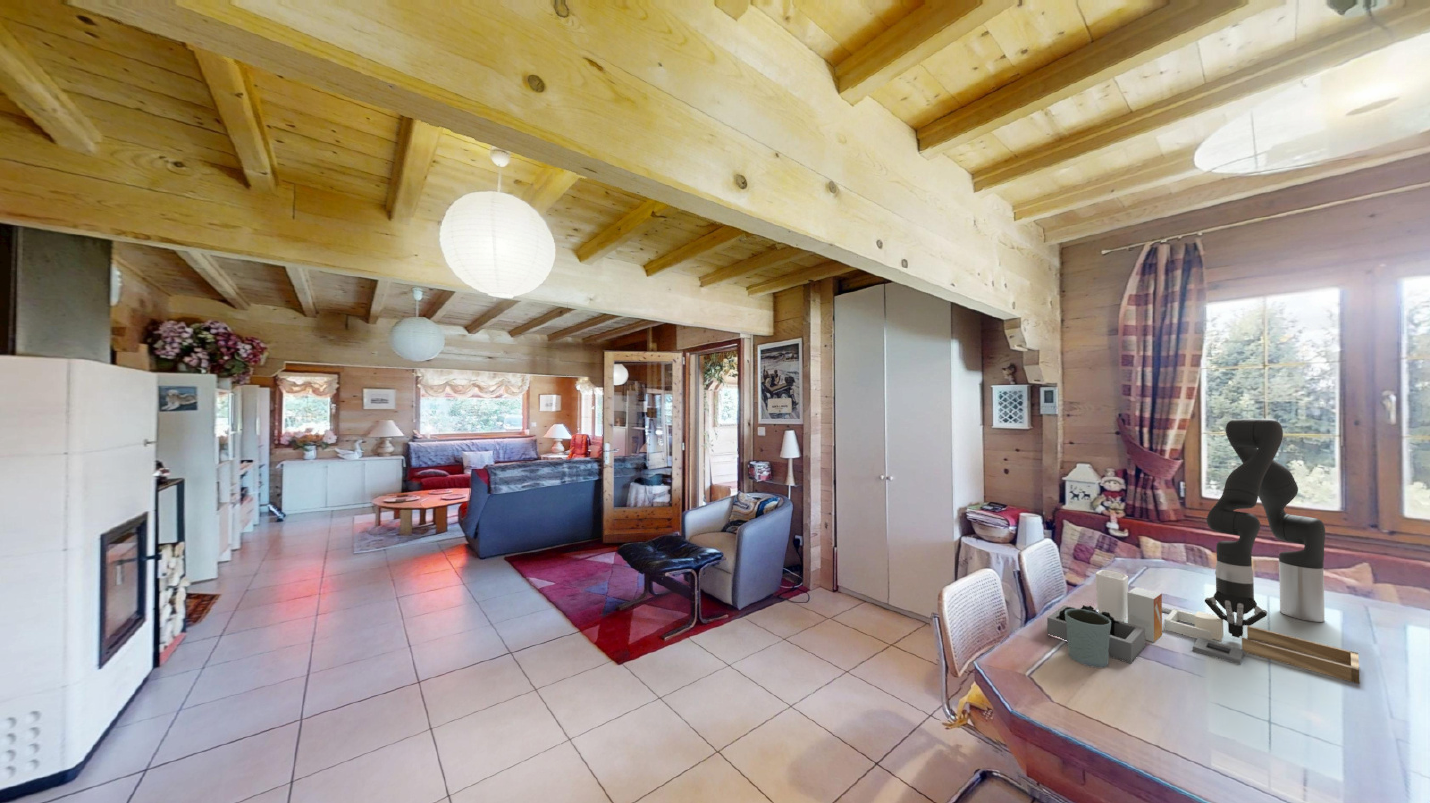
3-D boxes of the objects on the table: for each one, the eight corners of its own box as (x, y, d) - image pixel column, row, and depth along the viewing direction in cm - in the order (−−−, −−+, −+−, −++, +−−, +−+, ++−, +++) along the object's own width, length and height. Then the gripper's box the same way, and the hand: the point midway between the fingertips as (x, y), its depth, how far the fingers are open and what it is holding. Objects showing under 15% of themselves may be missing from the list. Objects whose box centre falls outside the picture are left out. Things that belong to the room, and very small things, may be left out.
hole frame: (1198, 640, 138) (1198, 636, 138) (1244, 653, 131) (1244, 649, 131) (1192, 650, 133) (1192, 646, 133) (1239, 664, 126) (1239, 660, 126)
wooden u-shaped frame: (1247, 636, 140) (1247, 625, 140) (1358, 665, 125) (1358, 652, 125) (1242, 651, 132) (1242, 638, 133) (1359, 683, 117) (1359, 669, 117)
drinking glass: (1104, 654, 131) (1104, 612, 131) (1118, 673, 122) (1117, 627, 122) (1061, 646, 135) (1060, 605, 136) (1070, 664, 126) (1070, 620, 126)
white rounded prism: (1130, 620, 151) (1129, 575, 152) (1122, 626, 147) (1122, 580, 148) (1102, 612, 158) (1101, 568, 158) (1094, 618, 153) (1093, 573, 154)
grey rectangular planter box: (1064, 622, 151) (1064, 605, 151) (1145, 646, 135) (1144, 628, 135) (1047, 635, 142) (1047, 617, 142) (1131, 663, 126) (1131, 643, 126)
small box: (1154, 642, 137) (1154, 598, 138) (1127, 634, 143) (1126, 591, 143) (1163, 635, 142) (1162, 592, 142) (1135, 627, 147) (1135, 586, 147)
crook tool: (1156, 609, 160) (1156, 605, 160) (1212, 621, 150) (1212, 618, 150) (1156, 613, 157) (1156, 609, 157) (1213, 625, 148) (1213, 622, 148)
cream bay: (1173, 617, 153) (1173, 608, 154) (1218, 629, 145) (1218, 619, 145) (1164, 629, 146) (1164, 619, 146) (1211, 642, 137) (1211, 632, 137)
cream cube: (1197, 628, 146) (1197, 611, 146) (1223, 635, 142) (1223, 617, 142) (1194, 633, 143) (1194, 615, 143) (1221, 640, 138) (1220, 622, 138)
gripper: (1269, 581, 135) (1271, 641, 135) (1204, 569, 146) (1205, 624, 145) (1267, 587, 131) (1269, 649, 130) (1200, 574, 141) (1201, 631, 141)
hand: (1235, 636), depth 138 cm, fingers closed
